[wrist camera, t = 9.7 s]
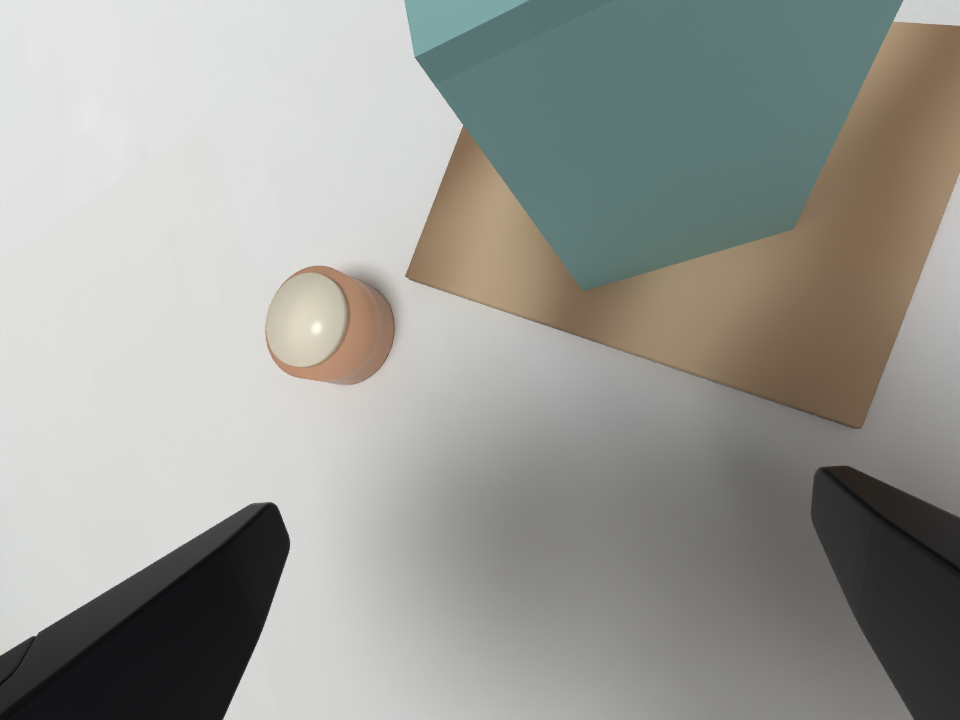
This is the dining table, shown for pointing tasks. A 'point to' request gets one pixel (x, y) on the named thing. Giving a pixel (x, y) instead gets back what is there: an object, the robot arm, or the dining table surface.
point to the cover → (651, 114)
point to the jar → (328, 327)
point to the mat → (748, 252)
